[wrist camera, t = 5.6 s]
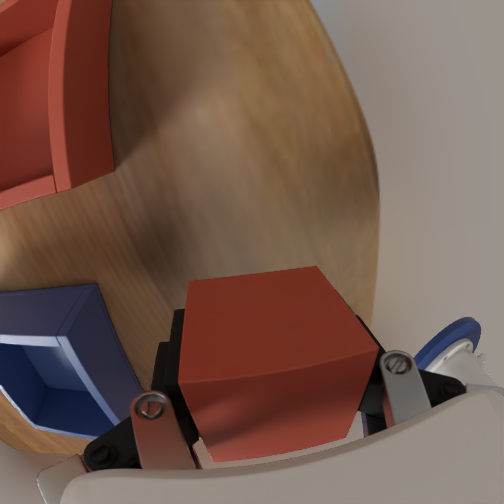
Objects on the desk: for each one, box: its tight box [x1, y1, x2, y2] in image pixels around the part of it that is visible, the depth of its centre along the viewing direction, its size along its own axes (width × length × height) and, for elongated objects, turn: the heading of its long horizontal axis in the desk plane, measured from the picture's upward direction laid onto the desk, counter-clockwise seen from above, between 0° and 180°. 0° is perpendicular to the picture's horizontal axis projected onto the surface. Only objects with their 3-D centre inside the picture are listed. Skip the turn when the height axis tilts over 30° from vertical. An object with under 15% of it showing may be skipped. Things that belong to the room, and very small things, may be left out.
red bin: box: [0, 0, 115, 210], centre depth 8 cm, size 12×12×6 cm
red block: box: [178, 266, 379, 462], centre depth 9 cm, size 5×5×5 cm
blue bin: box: [0, 284, 144, 440], centre depth 15 cm, size 12×12×6 cm
